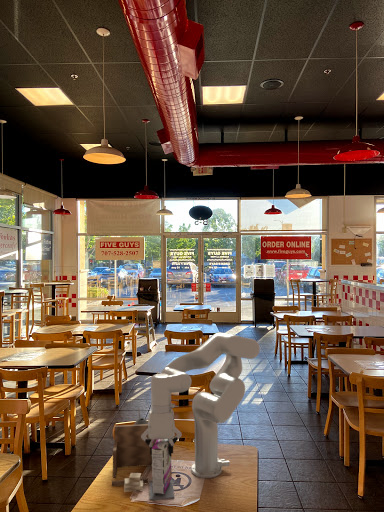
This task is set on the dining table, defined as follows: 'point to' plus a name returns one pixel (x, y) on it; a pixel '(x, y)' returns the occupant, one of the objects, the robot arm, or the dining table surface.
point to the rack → (130, 449)
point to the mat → (168, 494)
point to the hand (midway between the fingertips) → (161, 455)
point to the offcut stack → (133, 482)
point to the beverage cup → (140, 420)
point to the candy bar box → (161, 466)
